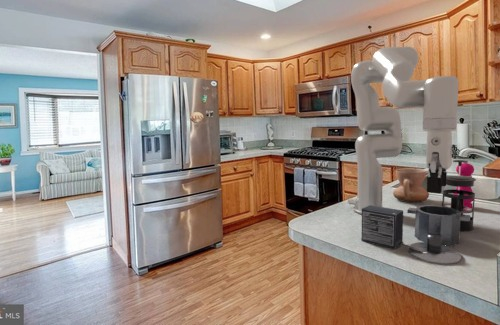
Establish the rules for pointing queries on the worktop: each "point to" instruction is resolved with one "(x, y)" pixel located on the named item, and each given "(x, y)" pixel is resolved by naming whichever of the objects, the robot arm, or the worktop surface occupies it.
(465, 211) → the french press
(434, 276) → the worktop surface
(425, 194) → the ceramic jug
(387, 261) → the worktop surface
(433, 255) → the lid
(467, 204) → the pepper mill
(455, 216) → the pot
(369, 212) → the small box
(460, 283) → the worktop surface
